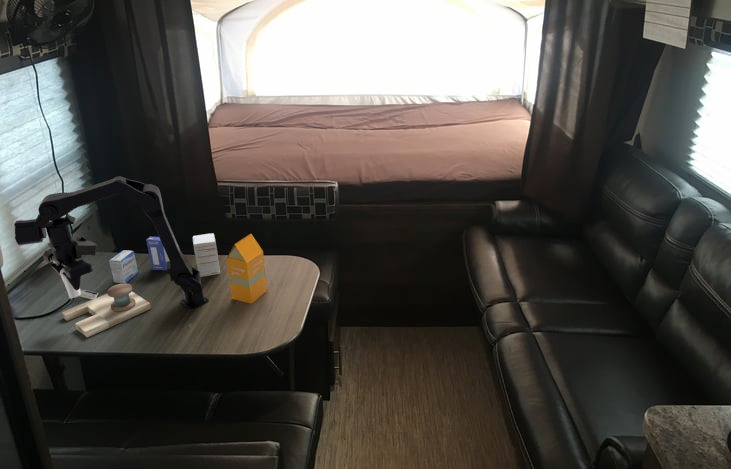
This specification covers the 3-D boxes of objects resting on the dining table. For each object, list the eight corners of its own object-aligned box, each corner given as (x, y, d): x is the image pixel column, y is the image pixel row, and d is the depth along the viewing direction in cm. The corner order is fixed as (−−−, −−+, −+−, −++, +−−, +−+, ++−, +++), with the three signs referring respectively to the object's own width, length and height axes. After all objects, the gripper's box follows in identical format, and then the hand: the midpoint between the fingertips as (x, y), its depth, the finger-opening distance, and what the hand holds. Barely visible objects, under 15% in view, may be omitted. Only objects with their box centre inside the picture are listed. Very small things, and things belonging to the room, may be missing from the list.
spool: (139, 304, 174) (136, 288, 171) (118, 314, 169) (114, 297, 166) (128, 297, 178) (125, 281, 175) (107, 306, 173) (103, 290, 171)
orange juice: (267, 290, 184) (261, 235, 176) (251, 303, 177) (244, 246, 168) (247, 286, 187) (241, 231, 179) (231, 298, 180) (223, 242, 171)
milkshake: (89, 293, 167) (81, 263, 163) (71, 300, 163) (62, 270, 159) (81, 288, 169) (73, 258, 165) (63, 295, 166) (55, 265, 161)
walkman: (152, 269, 199) (145, 238, 194) (155, 266, 201) (149, 235, 196) (173, 271, 197) (167, 240, 192) (176, 267, 200) (171, 236, 195)
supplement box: (197, 268, 199) (192, 235, 194) (219, 264, 201) (214, 232, 196) (198, 277, 193) (192, 244, 188) (220, 274, 195) (215, 241, 189)
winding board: (151, 308, 175) (149, 303, 174) (87, 337, 162) (85, 331, 161) (125, 291, 185) (124, 286, 184) (63, 317, 171) (61, 312, 170)
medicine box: (125, 284, 190) (120, 261, 186) (113, 282, 191) (108, 260, 187) (138, 272, 197) (134, 250, 193) (127, 271, 198) (122, 249, 194)
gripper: (104, 238, 158) (116, 286, 165) (75, 221, 170) (87, 267, 176) (64, 252, 151) (78, 302, 157) (36, 234, 162) (50, 281, 169)
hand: (74, 287), depth 165 cm, fingers closed on milkshake, 4 cm apart
